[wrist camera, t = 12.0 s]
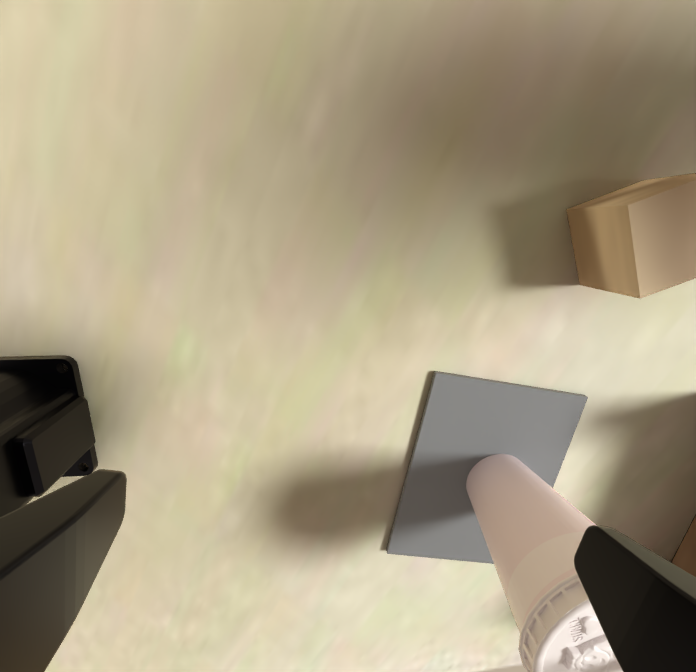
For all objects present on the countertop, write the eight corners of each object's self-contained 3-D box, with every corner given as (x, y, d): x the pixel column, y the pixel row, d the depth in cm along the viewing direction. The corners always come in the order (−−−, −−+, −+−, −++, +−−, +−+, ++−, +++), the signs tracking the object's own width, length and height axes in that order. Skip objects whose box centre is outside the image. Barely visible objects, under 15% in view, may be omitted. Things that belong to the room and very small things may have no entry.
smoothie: (536, 526, 24) (817, 910, 10) (436, 525, 23) (599, 933, 10) (559, 434, 22) (932, 754, 9) (452, 431, 22) (676, 769, 8)
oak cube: (578, 284, 20) (640, 298, 16) (565, 209, 19) (628, 205, 15) (651, 257, 20) (730, 265, 16) (641, 180, 19) (724, 168, 15)
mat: (386, 549, 24) (387, 553, 24) (434, 370, 21) (436, 373, 20) (519, 562, 25) (522, 566, 25) (584, 395, 22) (587, 397, 22)
